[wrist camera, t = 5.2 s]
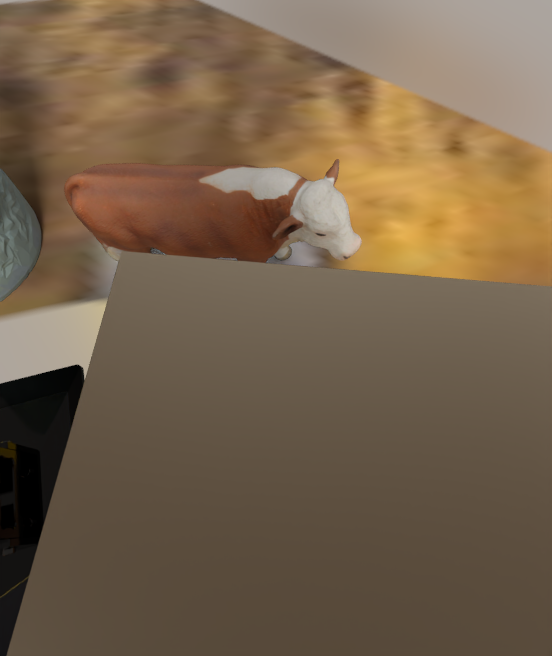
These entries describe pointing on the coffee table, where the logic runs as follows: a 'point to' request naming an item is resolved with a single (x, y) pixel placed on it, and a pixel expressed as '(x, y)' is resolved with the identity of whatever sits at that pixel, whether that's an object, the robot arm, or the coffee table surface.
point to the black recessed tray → (31, 461)
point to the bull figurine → (211, 210)
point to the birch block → (302, 469)
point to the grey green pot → (16, 237)
